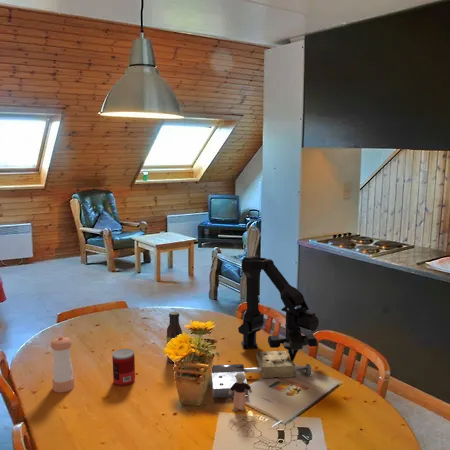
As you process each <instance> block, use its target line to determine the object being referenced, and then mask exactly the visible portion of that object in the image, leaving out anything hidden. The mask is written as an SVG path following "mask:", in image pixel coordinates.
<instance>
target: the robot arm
mask: <svg viewBox="0 0 450 450" xmlns="http://www.w3.org/2000/svg"><path fill="white" fill-rule="evenodd" d="M241 269H242V270H241V271H242V272H243V274H244V276H245V278H246V279H245V280H246V283H245V284H246V311H245V313H244V315H243V319H242V324H241V325H240V326H239V327H238V328H237V330H238V333H239V334H241V335H242V341H241V342H240V343H241V347H242V349H258V348H259V347H258V346H259V345H258V343H257V332H260V331H261V329H262V327H263V326H264V324H265V319H264V317H265V315H264V314H263V313H261V311H260V310H259V309H260V308H259V307H260V306H259V276H260V274H261V272H262V271H263V272H264V273H265V275H266V276H267V277H268V278H269V280H270V281H271V283H272V284H273V285H274V286H275V288H276V289H277V291H278V292H279V296H280V300H281V302H282V303H283V305H284V306H283V307H282V308H281V311H282V312H285V323H284V324H285V325H284V326H285V328H284V329H285V332H284V336H285V337H284V338H280V337H279V335H269V336H268V337H267V343H268V345H269V347H270V348H271V349H272V348H273V349H275V348H277V349H278V348H279V347H281V345H282V346H283V349H284V350H287V351H286V352H287V354H288V356H289V358H290V360H291V361H293V362H294V361H295V358H296V356H297V353H298V352H299V350H303V349H304V346H309V347H317V346H318V339H317V338H316V335H314V334H313V333H312V334H304V335H303V334H302V331H301V328H302V329H304V330H306V331H310V332H315V331H316V330H317V329H318V327H319V322H320V321H319V318H318V316H316V313H315V312H311V311H309V310H310V308H309V307H308V304H307V302H306V301H305V297H304V295H303V293H302V292H300V290H298V288H296V287H294V286H292V285H291V284H290V283H289V282H288V280H287V279H286V278H285V276H284V275H283V274H282V272H281V271H280V270H279V269H278V268H277V266H276V265H275V263H274V260H272V259H271V258H266V257H260V256H259V255H251V256H245V257H243V259H242V260H241Z"/></svg>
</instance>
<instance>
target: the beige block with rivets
mask: <svg viewBox="0 0 450 450" xmlns="http://www.w3.org/2000/svg"><path fill="white" fill-rule="evenodd" d="M256 362H257V365H258V368H263V372H260V375H261V377H262V379H272V378H273V379H274V377H279V378H291V377H290V376H295V377H296V371H295V366H296V365H295V363H294V361H291V360H290V357H289V354H288V351H286V350H271V351H270V350H269V351H256Z"/></svg>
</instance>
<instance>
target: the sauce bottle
mask: <svg viewBox="0 0 450 450" xmlns="http://www.w3.org/2000/svg"><path fill="white" fill-rule="evenodd" d="M168 317H169V325H168V326H167V328H166V344H167V343H168V342H169V341H170V340H171V339H172V338H175V337H177V335H179V334H182V335H183V331H182V327H181V325H180V312H178V311H170V312H169V313H168ZM166 359H167V362H168V363H171V364H174V363H173V361H172V360H171V359H170V358H169V357H168V356H167V355H166Z"/></svg>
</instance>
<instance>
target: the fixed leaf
mask: <svg viewBox="0 0 450 450" xmlns="http://www.w3.org/2000/svg"><path fill="white" fill-rule="evenodd" d="M212 365H213V367H212V373H211V372H210V377H211V387H212V397H213V398H214V399H215V398H216V399H218V398H219V397H220V398H231V397H230V396H234V393H235V390H233V391H232V393H231V394H230V395H229V394H228V392H229V390H230V388H231V387H232V386H233V385H234V383H236V382H237V380H236V374H237V373H240V372H241V373H243V374H244V375H245V376H246V374H247V373H248V374H249V373H261V372H263V368H259V367H244V366H245V365H244V364H243V363H238V364H235V363H233V364H212ZM298 371H299V372H301V371H302V372H303V371H305V374H306V373H307V374H306V375H308V376H307V377H311V376H312V366H311V365H310V364H309V363H306V364H305V365H300V366H298V365H295V372H298ZM310 375H311V376H310ZM244 383H246V384H248V381H247V378H245V380H244ZM245 395H248V396H249V391H248V390H247V389H245Z"/></svg>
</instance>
